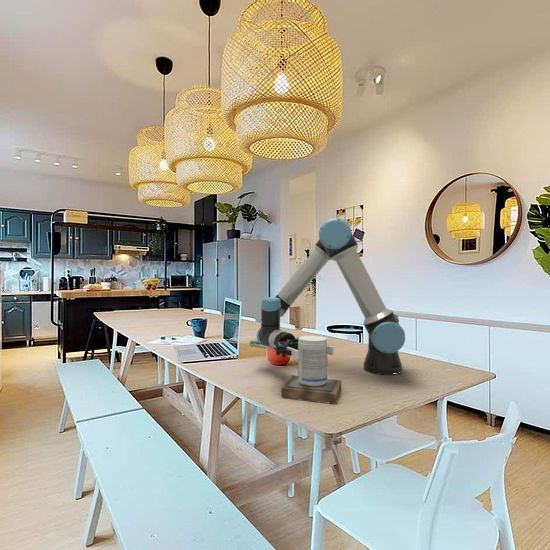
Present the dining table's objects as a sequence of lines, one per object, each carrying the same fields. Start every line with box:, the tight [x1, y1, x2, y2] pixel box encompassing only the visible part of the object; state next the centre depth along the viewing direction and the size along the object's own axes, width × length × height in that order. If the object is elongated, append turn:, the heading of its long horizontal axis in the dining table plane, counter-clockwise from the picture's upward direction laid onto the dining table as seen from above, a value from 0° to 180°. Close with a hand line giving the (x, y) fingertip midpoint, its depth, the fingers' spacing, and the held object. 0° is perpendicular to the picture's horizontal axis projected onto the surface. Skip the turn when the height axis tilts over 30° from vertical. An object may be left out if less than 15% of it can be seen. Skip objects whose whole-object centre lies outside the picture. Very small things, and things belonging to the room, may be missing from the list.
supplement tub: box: [297, 335, 328, 386], centre depth 121 cm, size 10×10×15 cm
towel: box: [249, 337, 297, 349], centre depth 198 cm, size 18×21×5 cm
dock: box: [280, 375, 342, 404], centre depth 121 cm, size 17×15×3 cm
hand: (315, 353), depth 120 cm, fingers open, 13 cm apart
